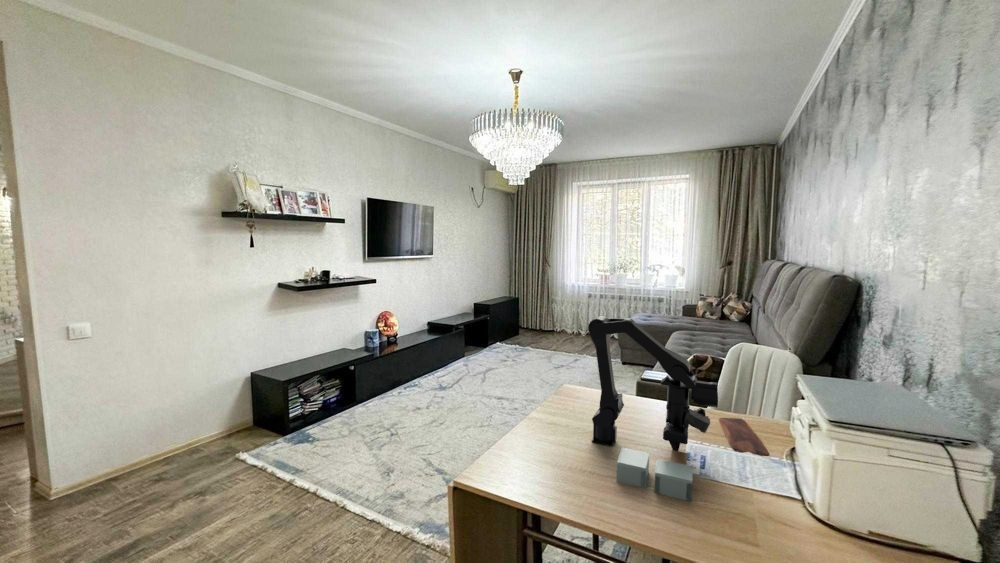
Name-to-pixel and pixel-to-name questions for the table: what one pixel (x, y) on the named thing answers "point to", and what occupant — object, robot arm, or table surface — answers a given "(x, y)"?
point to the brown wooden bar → (679, 457)
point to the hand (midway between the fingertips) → (675, 452)
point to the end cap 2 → (673, 480)
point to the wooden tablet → (742, 436)
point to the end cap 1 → (633, 467)
